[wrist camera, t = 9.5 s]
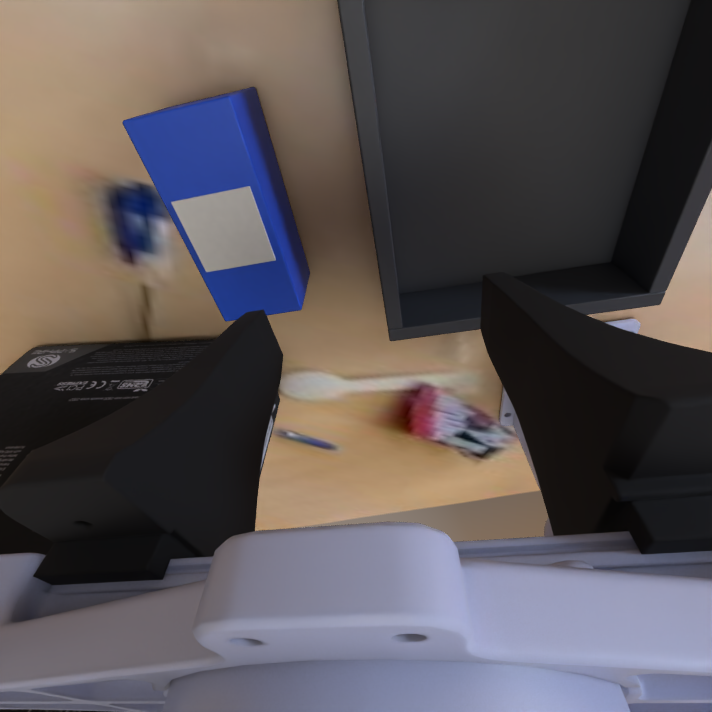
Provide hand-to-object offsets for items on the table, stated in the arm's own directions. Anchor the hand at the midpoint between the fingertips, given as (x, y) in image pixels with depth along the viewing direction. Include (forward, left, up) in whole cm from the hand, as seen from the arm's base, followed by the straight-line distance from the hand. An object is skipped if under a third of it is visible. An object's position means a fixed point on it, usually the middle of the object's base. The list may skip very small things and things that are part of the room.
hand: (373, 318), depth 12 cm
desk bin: (+3, -7, -9) cm, 12 cm away
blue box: (+2, +6, -9) cm, 11 cm away
